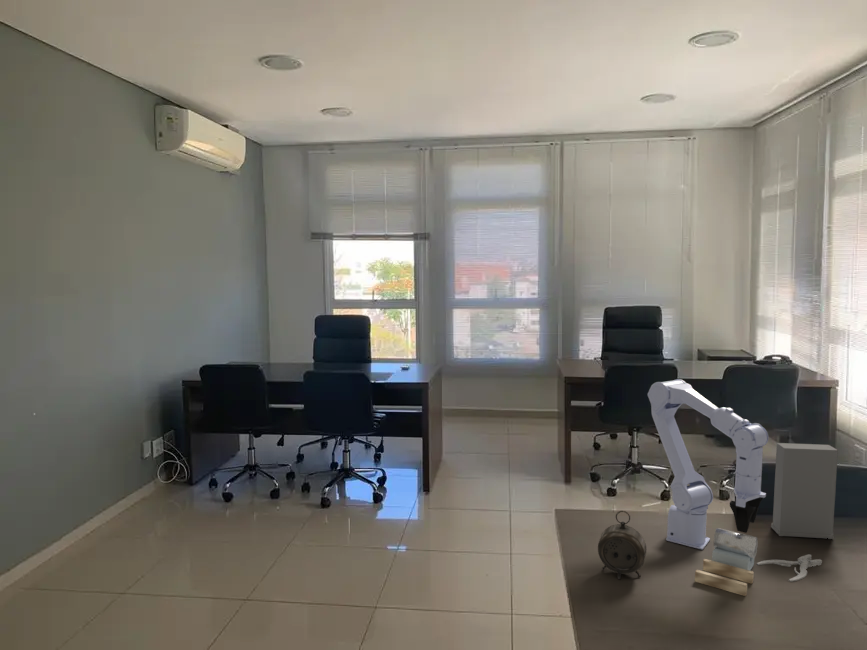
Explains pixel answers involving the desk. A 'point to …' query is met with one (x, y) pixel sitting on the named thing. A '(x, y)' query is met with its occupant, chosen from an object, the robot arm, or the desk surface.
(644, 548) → the alarm clock
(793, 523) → the tall grey box
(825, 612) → the desk surface
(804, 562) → the pliers
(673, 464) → the robot arm
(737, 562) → the v block
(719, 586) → the wooden rails
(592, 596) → the desk surface
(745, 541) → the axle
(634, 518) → the desk surface
